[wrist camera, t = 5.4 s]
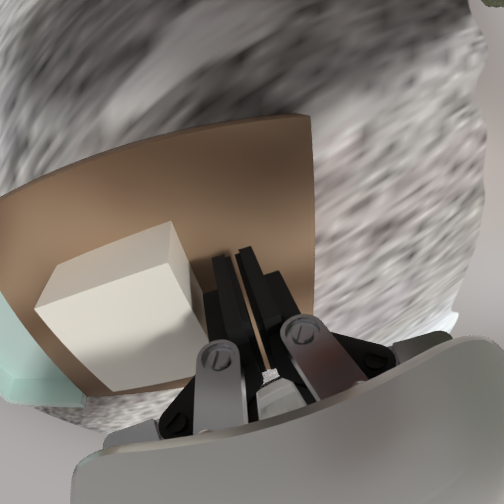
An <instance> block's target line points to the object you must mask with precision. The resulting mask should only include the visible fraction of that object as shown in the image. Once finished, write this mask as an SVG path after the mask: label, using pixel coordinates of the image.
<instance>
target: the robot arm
mask: <svg viewBox="0 0 504 504" xmlns="http://www.w3.org/2000/svg"><path fill="white" fill-rule="evenodd" d="M238 250H239V253H237V254H234V255H235V258H236V261H237V265H238V268H239V271H240V275H241V278H242V281H243V284H244V288H245V291H246V294H247V297H248V300H249V304H250V307H251V310H252V313H253V316H254V319H255V322H256V325H257V328H258V331H259V335H260V338H261V341H262V344H263V347H264V350H265V353H266V356H267V359H268V362H269V365H270V368H271V370H272V369H275V368H276V369H277V371H278V374H279V375H280V377H281V379H279V380H276V381H274V382H272V383H270V384H269V385H267V386H265V387H263V388H261V389H260V387H261V386H262V384H263V383H264V382H263V380H264V379H263V376H262V372H265V371H267V370H266V367H265V364H264V361H263V358H262V354H261V351H260V348H259V345H258V342H257V339H256V335H255V332H254V329H253V326H252V322H251V319H250V316H249V313H248V309H247V306H246V303H245V300H244V297H243V294H242V291H241V288H240V285H239V281H238V278H237V275H236V272H235V269H234V266H233V263H232V259H231V256H228V257H225V254H222V255H219V256H215V257H212V263H213V269H214V274H215V280H216V285H217V289H216V290H213V291H209V292H206V293H203V303H204V311H205V318H206V326H207V333H208V339H209V343H208V344H206V345H205V346H204V347H203V348H202V349H201V350H200V352H199V353H198V355H197V360H196V374H195V375H194V377H193V378H192V379H191V380H190V381H189V383H188V384H187V385H186V386H185V387H184V389H183V390H182V391H181V392H180V394H179V395H178V396H177V397H176V398H175V400H174V401H173V402H172V403H171V404H170V405H169V407H168V408H167V409H166V410H165V411H164V413H163V414H162V416H161V417H160V419H157V420H154V419H150V420H147V421H145V422H142V423H139V424H136V425H134V426H131V427H128V428H125V429H122V430H119V431H116V432H113V433H111V434H109V435H108V436H107V437H106V438H105V441H104V443H103V449H102V450H99V451H97V452H94V453H93V454H91V455H89V456H87V457H86V458H84V459H83V460H81V461H80V462H79V463H78V464H77V466H76V467H75V469H74V472H73V476H72V482H71V498H70V500H71V501H70V502H71V504H504V350H503V349H502V348H501V347H500V346H499V345H498V344H497V343H495V342H494V341H493V340H491V339H490V338H487V337H485V336H480V335H473V336H464V337H459V338H455V339H453V338H452V337H451V335H450V334H448V333H447V332H444V331H434V332H431V333H428V334H424V335H421V336H417V337H414V338H410V339H407V340H403V341H399V342H395V343H393V345H392V346H389V347H386V346H383V345H380V344H376V343H372V342H368V341H364V340H360V339H356V338H352V337H348V336H344V335H340V334H337V333H333V332H330V331H329V330H328V328H327V327H326V326H325V325H324V323H323V322H322V321H321V320H320V319H319V318H317V317H315V316H313V315H309V314H301V312H300V310H299V308H298V306H297V304H296V303H295V301H294V299H293V297H292V295H291V293H290V291H289V289H288V287H287V285H286V283H285V281H284V279H283V277H282V275H281V273H280V271H279V270H277V271H274V272H271V273H268V274H265V275H263V272H262V270H261V267H260V265H259V263H258V260H257V258H256V256H255V253H254V251H253V249H252V247H251V246H248V247H245V248H242V249H238ZM259 389H260V390H259ZM258 390H259V391H258Z"/></svg>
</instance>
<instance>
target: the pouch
mask: <svg viewBox="0 0 504 504" xmlns="http://www.w3.org/2000/svg"><path fill="white" fill-rule="evenodd" d="M482 2H483V3H484V4H485V5H486V6H488V7H491V6H492V7H500V6H501V7H504V0H482Z"/></svg>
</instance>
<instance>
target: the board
mask: <svg viewBox="0 0 504 504" xmlns="http://www.w3.org/2000/svg"><path fill="white" fill-rule="evenodd" d="M169 221H172V224H173V226H174V228H175V231H176V233H177V236H178V238H179V240H180V243H181V245H182V247H183V250H184V252H185V254H186V257H187V259H188V261H189V264H190V266H191V268H192V270H193V273H194V275H195V277H196V279H197V281H198V284H199V286H200V288H201V290H202V292H203V293H206V292H209V291H213V290H216V289H217V285H216V280H215V274H214V269H213V263H212V257H215V256H219V255H222V254H225V257H228V256H231V259H232V263H233V266H234V269H235V272H236V275H237V278H238V281H239V285H240V288H241V291H242V294H243V297H244V300H245V303H246V306H247V309H248V313H249V316H250V319H251V322H252V326H253V329H254V332H255V335H256V339H257V342H258V345H259V348H260V351H261V354H262V358H263V361H264V364H265V367H266V370H267V369H271V368H270V365H269V362H268V359H267V356H266V353H265V350H264V347H263V344H262V341H261V338H260V335H259V331H258V328H257V325H256V322H255V319H254V316H253V313H252V310H251V307H250V304H249V300H248V297H247V294H246V291H245V288H244V284H243V281H242V278H241V275H240V271H239V268H238V265H237V261H236V258H235V255H234V254H237V253H239V250H238V249H242V248H245V247H248V246H251V247H252V249H253V251H254V253H255V256H256V258H257V260H258V263H259V265H260V267H261V270H262V272H263V275H265V274H268V273H271V272H274V271H277V270H279V271H280V273H281V275H282V277H283V279H284V281H285V283H286V285H287V287H288V289H289V291H290V293H291V295H292V297H293V299H294V301H295V303H296V304H297V306H298V308H299V310H300V312H301V314H309V315H313V305H314V272H315V205H314V173H313V152H312V135H311V121H310V116H307V115H302V114H297V113H287V114H276V115H267V116H259V117H251V118H244V119H237V120H231V121H225V122H219V123H213V124H208V125H203V126H198V127H193V128H188V129H184V130H179V131H175V132H171V133H167V134H163V135H159V136H155V137H151V138H147V139H144V140H140V141H137V142H133V143H130V144H127V145H123V146H120V147H117V148H114V149H111V150H108V151H105V152H102V153H99V154H96V155H93V156H91V157H88V158H85V159H82V160H80V161H77V162H75V163H72V164H70V165H67V166H65V167H62V168H60V169H57V170H55V171H53V172H50V173H48V174H46V175H44V176H41V177H39V178H37V179H35V180H33V181H31V182H29V183H27V184H24V185H22V186H20V187H18V188H16V189H15V190H13V191H11V192H9V193H7V194H5V195H3V196H1V197H0V291H1V293H2V295H3V296H4V298H5V299H6V301H7V303H8V304H9V306H10V307H11V309H12V310H13V311H14V313H15V314H16V316H17V317H18V319H19V320H20V321H21V323H22V324H23V326H24V327H25V328H26V330H27V331H28V332H29V334H30V335H31V336H32V337H33V339H34V340H35V341H36V342H37V344H38V345H39V346H40V347H41V349H42V350H43V351H44V352H45V353H46V354H47V356H48V357H49V358H50V359H51V360H52V361H53V362H54V364H55V365H56V366H57V367H58V368H59V369H60V370H61V371H62V372H63V373H64V374H65V375H66V376H67V378H68V379H69V380H70V381H71V382H72V383H73V384H74V385H75V386H76V387H77V388H78V389H79V390H81V391H82V392H83V393H84V394H85V395H86V396H87V397H90V396H110V395H123V394H134V393H144V392H153V391H160V390H168V389H175V388H181V387H185V386H186V385H187V384H188V383H189V381H190V380H191V379H192V378H193V377H194V376H192V377H187V378H183V379H179V380H174V381H170V382H165V383H160V384H155V385H150V386H145V387H140V388H134V389H128V390H122V391H116V392H113V391H112V390H111V389H109V388H108V387H107V386H106V385H105V384H104V383H103V382H101V381H100V380H99V379H98V378H97V377H96V376H95V375H94V374H93V373H92V372H91V371H90V370H89V369H87V368H86V367H85V366H84V365H83V364H82V363H81V362H80V361H79V360H78V359H77V358H76V357H75V356H74V355H73V354H72V352H71V351H70V350H69V349H68V348H67V347H66V346H65V345H64V344H63V343H62V342H61V341H60V340H59V338H58V337H57V336H56V335H55V334H54V333H53V332H52V330H51V329H50V328H49V327H48V326H47V325H46V323H45V322H44V321H43V320H42V318H41V317H40V316H39V315H38V313H37V312H36V311H35V310H34V308H35V306H36V304H37V302H38V300H39V298H40V296H41V294H42V292H43V290H44V288H45V286H46V284H47V282H48V281H49V279H50V277H51V275H52V273H53V271H54V270H55V268H56V266H57V265H59V264H61V263H63V262H66V261H68V260H70V259H73V258H75V257H77V256H80V255H82V254H85V253H87V252H89V251H92V250H94V249H97V248H99V247H102V246H104V245H107V244H109V243H112V242H115V241H117V240H120V239H122V238H125V237H128V236H130V235H133V234H136V233H138V232H141V231H144V230H146V229H149V228H152V227H155V226H157V225H160V224H163V223H166V222H169Z"/></svg>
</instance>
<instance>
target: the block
mask: <svg viewBox="0 0 504 504" xmlns="http://www.w3.org/2000/svg"><path fill="white" fill-rule="evenodd" d="M34 310H35V311H36V312H37V313H38V315H39V316H40V317H41V318H42V320H43V321H44V322H45V323H46V325H47V326H48V327H49V328H50V329H51V330H52V332H53V333H54V334H55V335H56V336H57V337H58V338H59V340H60V341H61V342H62V343H63V344H64V345H65V346H66V347H67V348H68V349H69V350H70V351H71V352H72V354H73V355H74V356H75V357H76V358H77V359H78V360H79V361H80V362H81V363H82V364H83V365H84V366H85V367H86V368H87V369H89V370H90V371H91V372H92V373H93V374H94V375H95V376H96V377H97V378H98V379H99V380H100V381H101V382H103V383H104V384H105V385H106V386H107V387H108V388H109V389H111V390H112V391H113V392H116V391H122V390H128V389H134V388H140V387H145V386H150V385H155V384H160V383H165V382H170V381H174V380H179V379H183V378H187V377H192V376H194V375H195V374H196V360H197V355H198V353H199V352H200V350H201V349H202V348H203V347H204V346H205V345H206V344H208V343H209V339H208V333H207V326H206V318H205V311H204V303H203V292H202V290H201V288H200V286H199V284H198V281H197V279H196V277H195V275H194V273H193V270H192V268H191V266H190V264H189V261H188V259H187V257H186V254H185V252H184V250H183V247H182V245H181V243H180V240H179V238H178V236H177V233H176V231H175V228H174V226H173V224H172V221H169V222H166V223H163V224H160V225H157V226H155V227H152V228H149V229H146V230H144V231H141V232H138V233H136V234H133V235H130V236H128V237H125V238H122V239H120V240H117V241H115V242H112V243H109V244H107V245H104V246H102V247H99V248H97V249H94V250H92V251H89V252H87V253H85V254H82V255H80V256H77V257H75V258H73V259H70V260H68V261H66V262H63V263H61V264H59V265H57V266H56V268H55V270H54V271H53V273H52V275H51V277H50V279H49V281H48V282H47V284H46V286H45V288H44V290H43V292H42V294H41V296H40V298H39V300H38V302H37V304H36V306H35V308H34Z"/></svg>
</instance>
